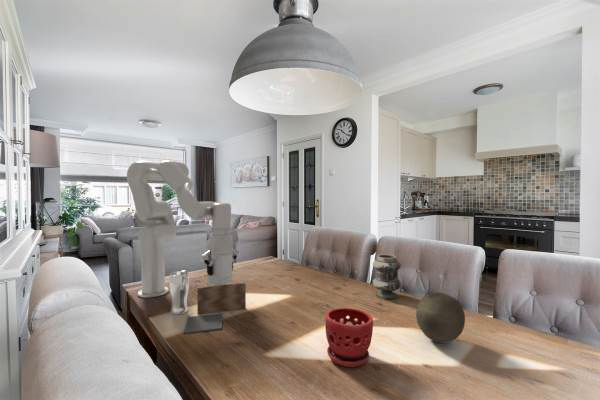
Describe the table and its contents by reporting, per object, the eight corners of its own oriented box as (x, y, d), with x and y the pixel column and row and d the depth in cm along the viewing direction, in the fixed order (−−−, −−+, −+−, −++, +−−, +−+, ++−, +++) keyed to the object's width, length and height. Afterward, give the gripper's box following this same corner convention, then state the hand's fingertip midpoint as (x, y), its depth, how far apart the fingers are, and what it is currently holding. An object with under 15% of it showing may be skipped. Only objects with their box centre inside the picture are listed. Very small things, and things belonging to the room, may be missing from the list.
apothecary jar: (385, 289, 139) (385, 252, 139) (406, 297, 129) (407, 256, 128) (367, 294, 133) (367, 254, 132) (387, 302, 122) (388, 260, 122)
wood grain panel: (197, 314, 111) (197, 287, 110) (197, 312, 112) (197, 286, 111) (245, 309, 115) (245, 284, 115) (245, 308, 116) (245, 283, 116)
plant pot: (374, 373, 75) (375, 327, 74) (323, 368, 77) (323, 323, 76) (370, 347, 88) (371, 307, 87) (326, 343, 90) (327, 304, 89)
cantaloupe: (407, 331, 97) (408, 287, 97) (448, 330, 98) (449, 286, 98) (428, 355, 83) (429, 303, 83) (476, 353, 84) (477, 302, 84)
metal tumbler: (182, 316, 109) (181, 276, 108) (165, 314, 110) (165, 275, 110) (192, 308, 116) (192, 271, 115) (176, 307, 117) (176, 270, 116)
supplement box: (232, 282, 125) (233, 253, 124) (220, 287, 118) (221, 256, 118) (219, 279, 128) (219, 250, 128) (206, 283, 122) (207, 253, 121)
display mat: (184, 333, 95) (184, 332, 95) (188, 318, 107) (188, 316, 107) (222, 329, 98) (222, 327, 98) (222, 314, 110) (222, 313, 110)
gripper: (234, 229, 131) (233, 267, 132) (197, 232, 119) (196, 274, 120) (243, 231, 126) (242, 271, 127) (206, 235, 114) (205, 279, 114)
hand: (220, 272), depth 123 cm, fingers closed on supplement box, 9 cm apart
